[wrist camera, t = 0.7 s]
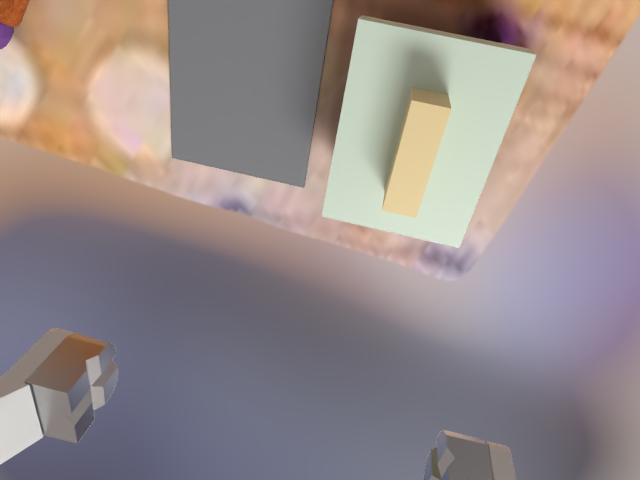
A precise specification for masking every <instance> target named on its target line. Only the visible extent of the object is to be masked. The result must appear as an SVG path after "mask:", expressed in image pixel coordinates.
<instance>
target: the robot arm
mask: <svg viewBox="0 0 640 480" xmlns="http://www.w3.org/2000/svg"><path fill="white" fill-rule="evenodd" d="M115 355H116V349H115V345H114V344H110V343H107V342H104V341H100V340H97V339H93V338H90V337H86V336H83V335H80V334H76V333H72V332H69V331H65V330H62V329H58V328H53V329H52V330H49V331H48V332H46V333H45V334H44V335H43V336H42V337H41V338H40V339H39V340H38V341H37V342H36V343H35V344H34V345H33V346H32V347H31V348H30V349H29V350H28V351H27V352H26V353H25V354H24V355H23V356H22V357H21V358H20V359H19V360H18V361H17V362H16V363H15V364H14V365H13V366H12V367H11V368H10V369H9V370H8V371H7V372H6V373H5V374H4V375H3V376H2V377H0V464H2V463H3V462H5V461H6V460H8V459H9V458H11V457H13V456H14V455H16V454H17V453H19V452H21V451H22V450H24V449H25V448H27V447H28V446H30V445H31V444H33V443H35V442H36V441H38V440H39V439H41V438H42V437H43V435H46V436H50V437H54V438H58V439H62V440H66V441H70V442H74V443H78V442H79V441H80V439H81V438H82V436H83V435H84V434H85V432H86V431H87V429H88V428H89V426H90V425H91V424H92V422H93V421H94V410H95V409H97V408H99V407H100V406H102V405H104V404H106V402H107V401H108V399H109V398H110V396H111V395H112V393H113V390H114V388H115V385H116V383H117V379H118V367H117V366H116V364H115V363H114V362H113V360H112V359H113V358H114V357H115ZM424 480H516V476H515V472H514V466H513V461H512V457H511V452H510V450H509V448H508V447H507V446H504V445H500V444H496V443H492V442H488V441H484V440H482V439H479V438H474V437H471V436H467V435H462V434H458V433H454V432H450V431H446V430H442V431H441V432H440V433H439V435H438V437H437V447H436V448H434V449H432V450H431V451H430V453H429V456H428V458H427V461H426V465H425V470H424Z"/></svg>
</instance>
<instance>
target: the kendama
mask: <svg viewBox="0 0 640 480" xmlns="http://www.w3.org/2000/svg"><path fill="white" fill-rule="evenodd" d="M28 3H29V0H0V49H2V48H4V47H5V46H6V45H7V44H8V43H9V41H10V40H11V37H12V35H13V33H14V27H15V26H19V24H20V23H21V21H22V19H23V16H24V13H25V11H26V8H27V5H28Z"/></svg>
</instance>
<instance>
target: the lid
mask: <svg viewBox="0 0 640 480" xmlns="http://www.w3.org/2000/svg"><path fill="white" fill-rule="evenodd" d="M535 57H536V54H535V53H534V52H533V51H532V50H531V49H528V48H523V47H518V46H513V45H508V44H503V43H498V42H493V41H488V40H483V39H478V38H473V37H468V36H463V35H458V34H453V33H448V32H444V31H439V30H434V29H429V28H424V27H419V26H414V25H409V24H404V23H399V22H394V21H389V20H384V19H379V18H374V17H369V16H364V15H361V16H360V17H359V18H358V23H357V28H356V34H355V39H354V44H353V50H352V55H351V61H350V66H349V71H348V77H347V82H346V87H345V93H344V98H343V104H342V109H341V114H340V120H339V125H338V130H337V136H336V141H335V147H334V152H333V157H332V163H331V168H330V173H329V179H328V184H327V190H326V195H325V200H324V206H323V211H322V216H323V217H327V218H331V219H336V220H340V221H344V222H349V223H353V224H357V225H362V226H366V227H370V228H374V229H379V230H383V231H387V232H392V233H396V234H400V235H405V236H409V237H413V238H418V239H422V240H426V241H431V242H435V243H439V244H444V245H448V246H452V247H457V248H459V247H460V245H461V242H462V240H463V237H464V235H465V232H466V230H467V227H468V225H469V222H470V220H471V217H472V215H473V212H474V210H475V207H476V205H477V202H478V200H479V197H480V195H481V192H482V190H483V187H484V185H485V182H486V180H487V177H488V175H489V172H490V170H491V167H492V165H493V162H494V160H495V157H496V155H497V152H498V150H499V147H500V145H501V142H502V140H503V137H504V135H505V132H506V130H507V127H508V125H509V122H510V120H511V117H512V115H513V112H514V110H515V107H516V105H517V102H518V100H519V97H520V95H521V92H522V90H523V87H524V85H525V82H526V80H527V77H528V75H529V72H530V70H531V67H532V65H533V62H534V60H535Z"/></svg>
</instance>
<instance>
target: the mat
mask: <svg viewBox="0 0 640 480" xmlns="http://www.w3.org/2000/svg"><path fill="white" fill-rule="evenodd" d="M332 6H333V0H168V8H169V48H170V88H171V128H172V158H176V159H180V160H184V161H189V162H193V163H197V164H202V165H206V166H211V167H215V168H219V169H224V170H228V171H233V172H237V173H241V174H246V175H250V176H255V177H259V178H263V179H268V180H272V181H277V182H281V183H285V184H290V185H294V186H299V187H303V188H304V186H305V180H306V173H307V167H308V160H309V154H310V147H311V141H312V135H313V128H314V122H315V115H316V109H317V102H318V96H319V89H320V83H321V77H322V70H323V64H324V57H325V51H326V44H327V38H328V31H329V25H330V18H331V12H332Z"/></svg>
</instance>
